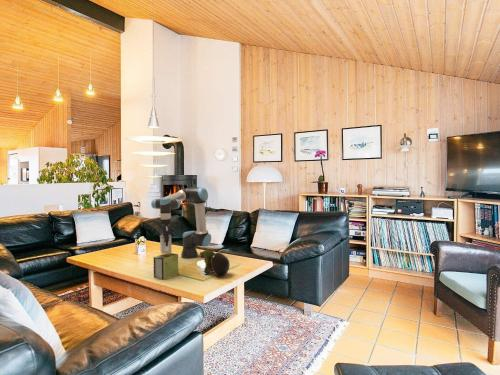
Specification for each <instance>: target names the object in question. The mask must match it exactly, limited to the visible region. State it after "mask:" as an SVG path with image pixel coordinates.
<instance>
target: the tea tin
mask: <svg viewBox="0 0 500 375" xmlns="http://www.w3.org/2000/svg"><path fill="white" fill-rule="evenodd" d="M159 237H160V239H159V240H160V244H159V245H160V246H159V248H160V253H161V255H162V254H166V253H173V251H172V250H173V249H172V235H171V234H169V251H165V242H164V241H165V235H163V234H161V235H159Z"/></svg>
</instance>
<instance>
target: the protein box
mask: <svg viewBox="0 0 500 375" xmlns="http://www.w3.org/2000/svg"><path fill="white" fill-rule="evenodd" d="M178 275H179V254H178V253H174V252H172V253H164V254H162V253H161V254H160V255H156V256H153V278H154V279H158V280H162V281H164V280H168V279H170V278H173V277H175V276H178Z"/></svg>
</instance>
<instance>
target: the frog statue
mask: <svg viewBox="0 0 500 375" xmlns="http://www.w3.org/2000/svg"><path fill="white" fill-rule="evenodd" d="M199 255H200V257H201V258H202V259H204V263H205V267H204V269H203V273H204V272H205V273H208V274H210V273H212V271H214V272H213V273H214V274H215V276H216V277H220V278H221V277H224V276H225V275H227V274H228V272H229V270H230V264H231V263H230V261H229V258H228V257H227V256H226V255H225V254H223V253H221V252H214V251H213V250H211V249H204V250H203V251H200V252H199ZM208 274H207V275H208Z"/></svg>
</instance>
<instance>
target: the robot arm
mask: <svg viewBox="0 0 500 375" xmlns="http://www.w3.org/2000/svg"><path fill="white" fill-rule="evenodd" d="M207 190H208V189H206V188H204V187H186V188H183V189H180V190H178V191H177V192H175V193H172V194H169V195H167V196H164V197H161V198H156V199H155V198H154V199H152V200H151V203H150V204H151V208H152V209H155V210H160V212H159V218H160V225H162V235H165V241H164V242H165V251H169V235H170V232H169V231H170V228H169V225H171V223H172V222H171V217H172V214H171V213H172V212H171V211H172V210H177V209H179V208H180V207H181V202H183V201H192V204H193V205H194V214H195V221H196V223H195V224H196V230H189V231H185V232H183V233H182V251H181V254H180V256H181V257H180V258H182V259H194V258H197V257H198V256H199V254H198V250H197V247H203V248H204V247H208V246H210V244H211V242H212V235H211V233H209V230H208V229H207V221H206V209H205V208H206V207H205V204H206V203H207V200H208V198H209V193H208V191H207Z"/></svg>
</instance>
